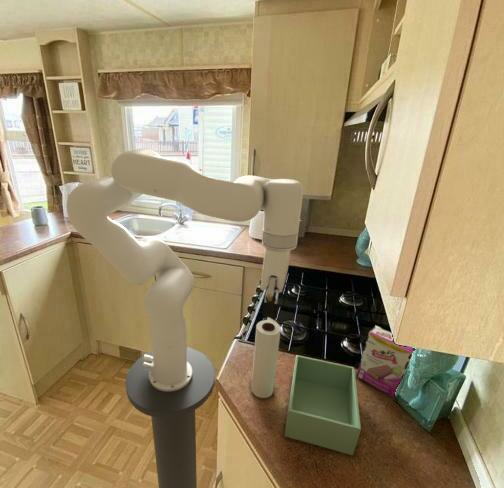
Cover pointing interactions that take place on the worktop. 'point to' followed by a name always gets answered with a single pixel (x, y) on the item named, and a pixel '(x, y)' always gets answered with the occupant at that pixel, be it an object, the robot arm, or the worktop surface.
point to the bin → (324, 405)
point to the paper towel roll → (265, 357)
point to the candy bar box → (383, 361)
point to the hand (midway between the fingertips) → (273, 305)
